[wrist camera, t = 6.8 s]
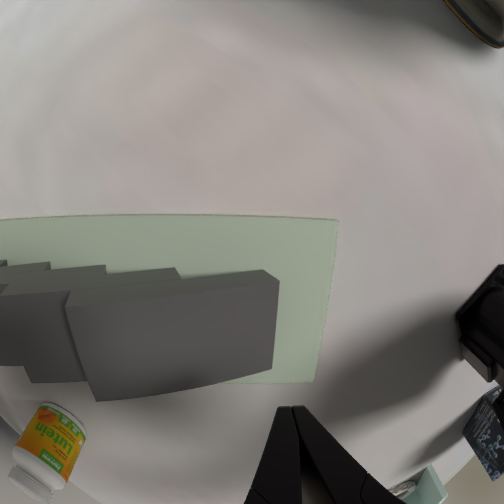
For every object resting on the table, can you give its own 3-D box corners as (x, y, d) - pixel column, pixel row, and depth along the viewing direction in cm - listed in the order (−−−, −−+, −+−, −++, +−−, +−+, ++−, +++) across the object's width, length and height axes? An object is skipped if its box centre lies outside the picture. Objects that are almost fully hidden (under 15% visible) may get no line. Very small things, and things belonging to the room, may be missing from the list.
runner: (335, 219, 13) (338, 221, 13) (311, 376, 16) (313, 381, 16) (-48, 224, 12) (-52, 225, 12) (-24, 327, 15) (-27, 330, 14)
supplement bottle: (91, 424, 18) (56, 506, 8) (84, 444, 19) (55, 513, 9) (42, 391, 17) (-4, 464, 7) (40, 416, 18) (4, 479, 8)
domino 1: (104, 274, 12) (-37, 287, 8) (120, 359, 13) (-9, 365, 9) (105, 264, 13) (-26, 277, 9) (119, 343, 14) (-2, 351, 11)
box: (482, 394, 20) (526, 448, 9) (508, 378, 20) (550, 423, 10) (460, 433, 22) (492, 483, 12) (486, 417, 22) (518, 461, 12)
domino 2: (181, 278, 12) (-2, 296, 8) (189, 367, 13) (31, 382, 9) (175, 267, 13) (9, 283, 9) (181, 350, 15) (36, 365, 11)
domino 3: (279, 280, 12) (64, 306, 8) (271, 368, 14) (96, 401, 10) (262, 269, 14) (71, 290, 10) (258, 352, 15) (96, 380, 11)
